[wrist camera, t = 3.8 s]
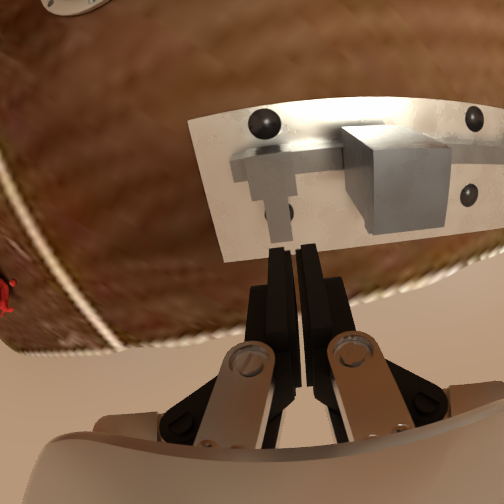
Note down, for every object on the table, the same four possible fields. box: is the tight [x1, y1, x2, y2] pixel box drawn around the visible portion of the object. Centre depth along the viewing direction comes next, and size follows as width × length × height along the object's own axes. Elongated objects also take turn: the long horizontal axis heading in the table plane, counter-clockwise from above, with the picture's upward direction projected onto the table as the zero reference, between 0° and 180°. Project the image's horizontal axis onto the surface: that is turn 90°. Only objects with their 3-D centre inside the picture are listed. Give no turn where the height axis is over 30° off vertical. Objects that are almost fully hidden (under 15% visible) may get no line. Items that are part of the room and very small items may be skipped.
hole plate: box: [187, 96, 504, 263], centre depth 23 cm, size 14×34×1 cm, turn 100°
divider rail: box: [229, 138, 504, 244], centre depth 20 cm, size 8×32×4 cm, turn 100°
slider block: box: [341, 125, 452, 235], centre depth 18 cm, size 8×5×9 cm, turn 10°
